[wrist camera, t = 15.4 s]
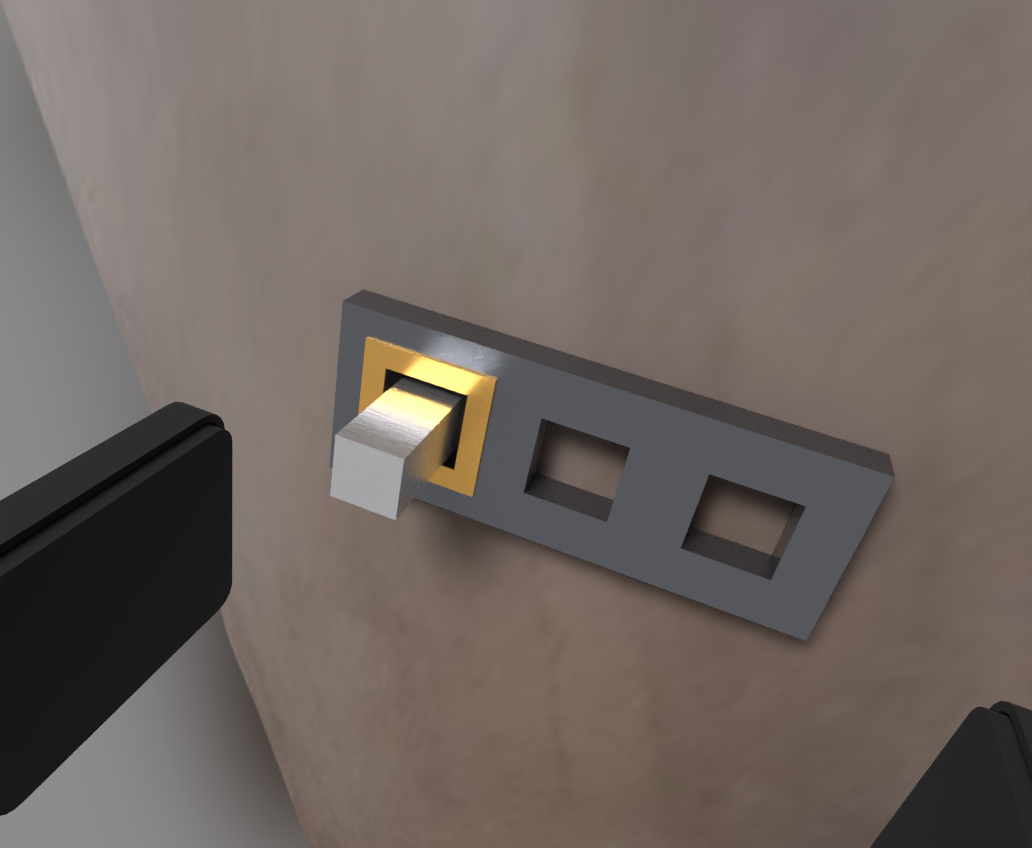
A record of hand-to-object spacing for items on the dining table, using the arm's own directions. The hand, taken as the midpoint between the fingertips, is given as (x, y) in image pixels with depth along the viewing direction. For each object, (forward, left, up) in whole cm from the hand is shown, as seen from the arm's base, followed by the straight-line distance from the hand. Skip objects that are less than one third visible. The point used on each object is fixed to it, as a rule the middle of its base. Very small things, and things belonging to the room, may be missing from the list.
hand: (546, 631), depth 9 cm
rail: (+4, +17, -33) cm, 38 cm away
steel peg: (+13, +17, -33) cm, 40 cm away
